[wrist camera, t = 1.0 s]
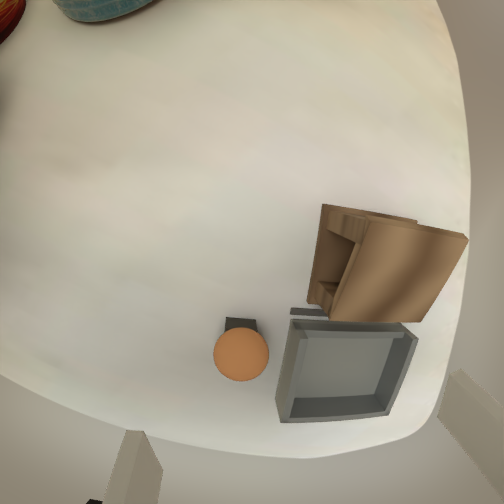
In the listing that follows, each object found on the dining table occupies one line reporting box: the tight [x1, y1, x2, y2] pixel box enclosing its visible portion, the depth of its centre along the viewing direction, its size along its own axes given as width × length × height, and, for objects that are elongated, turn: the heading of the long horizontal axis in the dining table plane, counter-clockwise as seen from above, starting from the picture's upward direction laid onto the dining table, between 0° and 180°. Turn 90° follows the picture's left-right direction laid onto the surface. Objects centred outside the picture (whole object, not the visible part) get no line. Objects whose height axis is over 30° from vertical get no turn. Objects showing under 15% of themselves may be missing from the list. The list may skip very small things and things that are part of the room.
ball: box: [214, 327, 269, 381], centre depth 27 cm, size 5×5×5 cm
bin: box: [275, 319, 419, 423], centre depth 31 cm, size 14×11×4 cm
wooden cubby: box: [307, 204, 469, 322], centre depth 26 cm, size 11×10×10 cm
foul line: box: [290, 308, 328, 317], centre depth 32 cm, size 14×1×1 cm, turn 83°
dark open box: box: [225, 317, 258, 332], centre depth 30 cm, size 3×3×2 cm
